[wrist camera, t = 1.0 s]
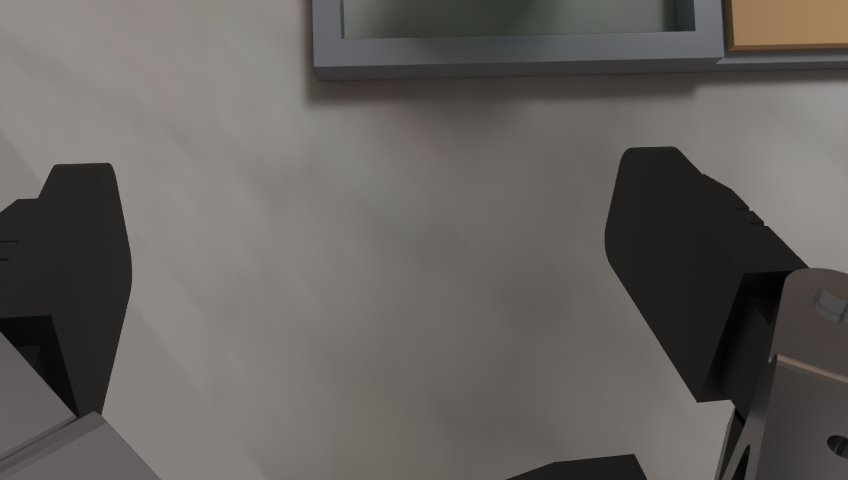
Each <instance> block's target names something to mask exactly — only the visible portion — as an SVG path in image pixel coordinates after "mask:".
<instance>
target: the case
mask: <svg viewBox="0 0 848 480" xmlns="http://www.w3.org/2000/svg"><path fill="white" fill-rule="evenodd" d="M675 2H676V19H677V32H639V33H595V34H550V35H505V36H461V37H416V38H372V39H344V3H343V0H312V7H313V53H314V69H315V71H316V74H317V76H318V79H319V81H337V80H379V79H420V78H462V77H504V76H545V75H587V74H629V73H670V72H712V71H754V70H795V69H837V68H848V0H675Z"/></svg>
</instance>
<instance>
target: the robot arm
mask: <svg viewBox="0 0 848 480" xmlns="http://www.w3.org/2000/svg"><path fill="white" fill-rule="evenodd" d="M605 250H606V255H607V258H608V261H609V263H610V265H611V267H612V268H613V270H614V272H615V273H616V275H617V276H618V278H619V279H620V281H621V283H622V284H623V286H624V287H625V289H626V290H627V292H628V294H629V295H630V297H631V298H632V300H633V302H634V303H635V305H636V306H637V308H638V309H639V311H640V313H641V314H642V316H643V317H644V319H645V321H646V322H647V324H648V325H649V327H650V328H651V330H652V332H653V333H654V335H655V336H656V338H657V340H658V341H659V343H660V344H661V346H662V347H663V349H664V351H665V352H666V354H667V355H668V357H669V359H670V360H671V362H672V363H673V365H674V366H675V368H676V370H677V371H678V373H679V374H680V376H681V377H682V379H683V381H684V382H685V384H686V385H687V387H688V389H689V390H690V392H691V393H692V395H693V396H694V398H695V400H696V401H697V403H699V402H709V401H720V400H731V401H732V403H733V404H734V405H735V407H734V410H733V412H732V415H731V417H730V420H729V422H728V425H727V429H726V433H725V437H724V441H723V446H722V450H721V454H720V458H719V462H718V466H717V470H716V474H715V478H714V480H848V274H846V273H843V272H839V271H835V270H830V269H824V268H809V267H808V266H807V265H806V264H805V263H804V262H803V261H802V260H801V259H800V258H799V257H798V256H797V255H796V254H795V253H794V252H793V251H792V250H791V249H790V248H789V247H788V246H787V245H786V244H785V243H784V242H783V241H782V240H781V239H780V238H779V237H778V236H777V235H776V234H775V233H774V232H773V231H772V230H771V229H770V228H769V227H768V226H764V222H763V221H762V220H761V219H760V218H759V217H758V216H757V215H756V214H755V213H754V212H753V211H749V207H748V206H747V205H746V204H745V203H744V202H743V201H742V199H741V198H740V197H739V196H738V195H737V194H736V193H735V192H734V191H733V190H732V189H730V188H728V187H726V186H724V185H723V184H721V183H719V182H717V181H716V180H714V179H712V178H710V177H708V176H707V175H705V174H701V172H700V171H699V170H698V169H697V168H696V167H695V166H694V165H693V164H692V163H691V162H690V161H689V160H688V159H687V158H686V157H685V156H684V155H683V154H682V153H681V152H680V151H679V150H678V149H677V148H676V147H671V146H670V147H638V148H629V149H627V150H626V151H625V152H624V154H623V156H622V158H621V161H620V165H619V169H618V174H617V178H616V183H615V187H614V192H613V196H612V201H611V205H610V210H609V214H608V219H607V223H606V228H605ZM131 285H132V261H131V252H130V247H129V242H128V236H127V231H126V226H125V221H124V216H123V211H122V206H121V201H120V196H119V191H118V185H117V180H116V176H115V172H114V170H113V167H112V165H111V164H110V163H86V164H57V165H54V166H53V168H52V170H51V172H50V174H49V176H48V178H47V180H46V182H45V184H44V186H43V189H42V191H41V193H40V195H39V197H38V198H37V199H17V200H16V201H15V202H13V203H12V204H11V205H9V206H8V207H7V208H6V209H4V210H3V211H2V212H0V480H161V479H160V478H159V477H158V476H157V475H156V474H155V473H154V472H153V471H152V469H151V468H150V467H149V466H148V465H147V464H146V463H145V462H144V461H143V460H142V459H141V458H140V456H138V454H137V453H136V452H135V451H134V450H133V449H132V448H131V447H130V446H129V445H128V444H127V442H126V441H125V440H124V439H123V438H122V437H121V436H120V435H119V434H118V433H117V432H116V431H115V429H114V428H113V427H112V426H111V425H110V424H109V423H108V422H107V421H106V420H105V419H104V418H103V417H102V416H101V414H102V410H103V406H104V402H105V397H106V393H107V389H108V385H109V381H110V376H111V372H112V368H113V364H114V359H115V355H116V351H117V347H118V343H119V339H120V334H121V329H122V325H123V322H124V317H125V313H126V309H127V305H128V301H129V296H130V292H131ZM506 480H647V478H646V476H645V475H644V473H643V471H642V469H641V467H640V465H639V463H638V461H637V459H636V457H635V455H634V454H629V455H620V456H610V457H601V458H591V459H582V460H572V461H563V462H554V463H551V464H548V465H545V466H543V467H540V468H537V469H534V470H531V471H529V472H526V473H523V474H520V475H517V476H515V477H512V478H509V479H506Z"/></svg>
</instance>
